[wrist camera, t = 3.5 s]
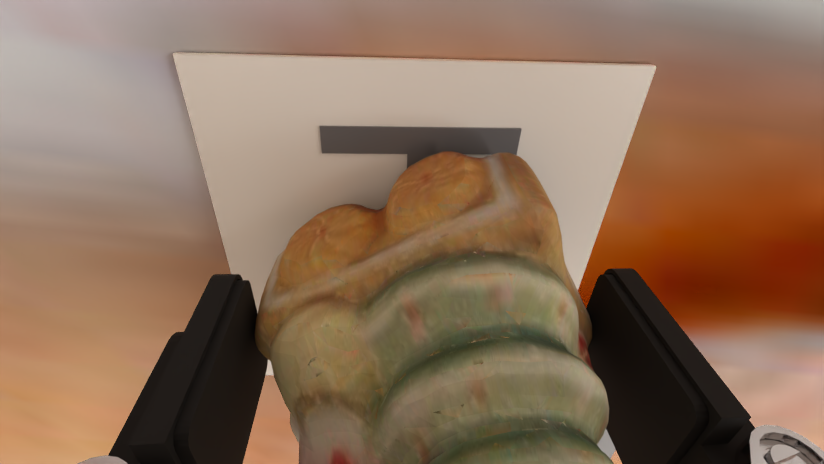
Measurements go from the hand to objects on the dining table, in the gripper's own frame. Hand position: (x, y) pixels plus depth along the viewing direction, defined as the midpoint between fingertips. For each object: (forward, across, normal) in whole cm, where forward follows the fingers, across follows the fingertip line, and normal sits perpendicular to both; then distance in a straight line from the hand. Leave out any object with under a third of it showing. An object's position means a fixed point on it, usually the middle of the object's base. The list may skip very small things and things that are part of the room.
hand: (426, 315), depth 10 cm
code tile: (+3, 0, 0) cm, 3 cm away
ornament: (+3, 0, 0) cm, 3 cm away
